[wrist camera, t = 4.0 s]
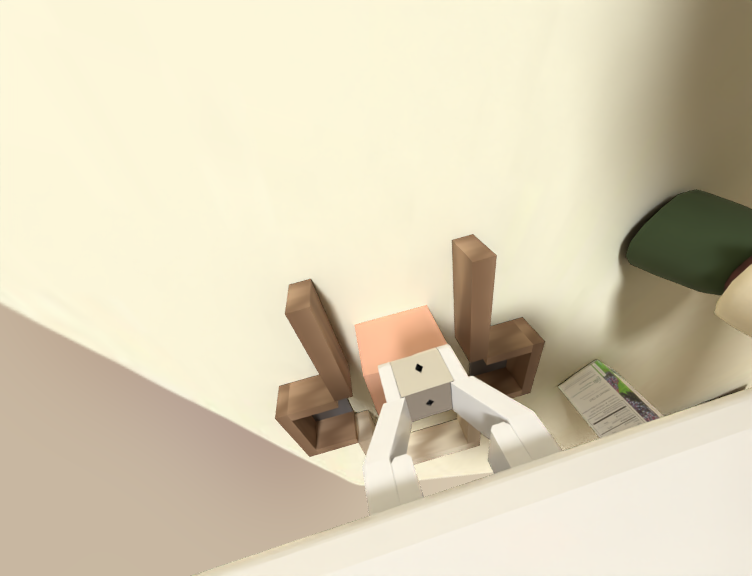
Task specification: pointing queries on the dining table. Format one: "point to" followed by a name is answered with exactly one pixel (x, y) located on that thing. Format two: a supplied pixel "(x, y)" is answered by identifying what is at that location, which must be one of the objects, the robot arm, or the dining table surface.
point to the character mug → (702, 251)
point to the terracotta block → (394, 343)
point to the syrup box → (607, 400)
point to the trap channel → (472, 330)
